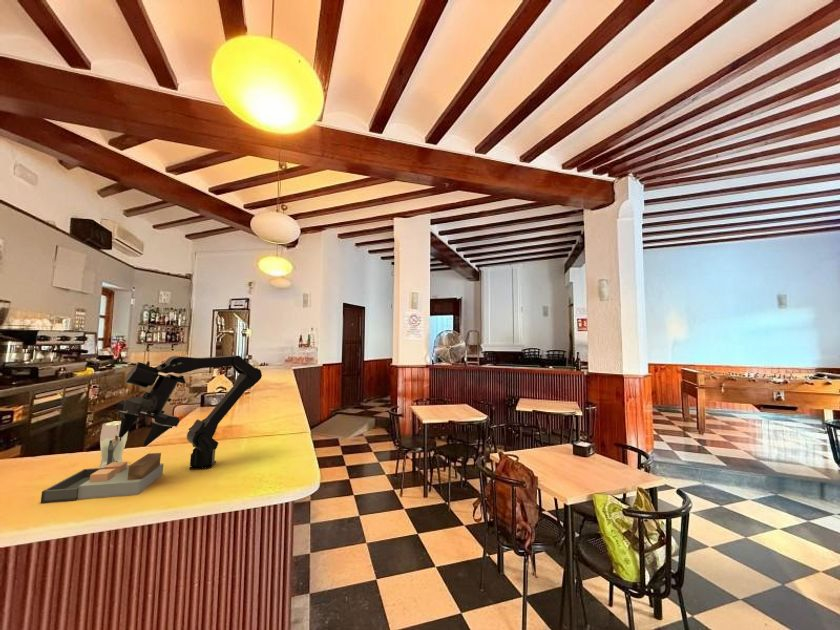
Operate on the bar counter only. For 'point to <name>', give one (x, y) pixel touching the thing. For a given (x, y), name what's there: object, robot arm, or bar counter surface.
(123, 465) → the tile
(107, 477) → the tile
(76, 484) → the tray
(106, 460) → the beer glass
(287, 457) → the bar counter surface
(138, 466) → the brown wooden plank
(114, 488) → the board
